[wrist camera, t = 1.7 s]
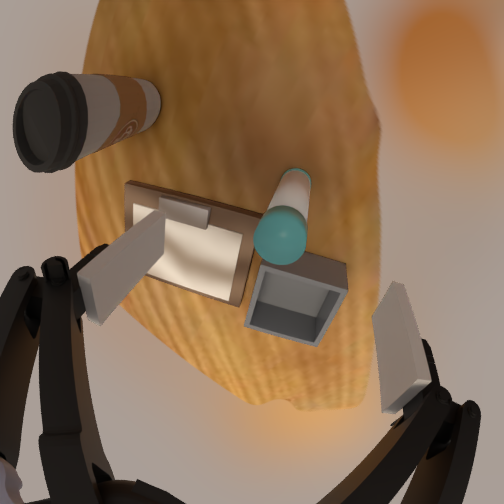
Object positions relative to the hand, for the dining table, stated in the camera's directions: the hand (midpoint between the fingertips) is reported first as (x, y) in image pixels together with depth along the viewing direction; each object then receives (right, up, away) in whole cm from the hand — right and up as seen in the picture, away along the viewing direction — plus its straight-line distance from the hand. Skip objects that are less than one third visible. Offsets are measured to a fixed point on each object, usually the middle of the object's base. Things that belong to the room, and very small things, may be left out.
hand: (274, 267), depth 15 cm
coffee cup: (-14, +17, +12) cm, 25 cm away
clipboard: (-9, +2, +20) cm, 22 cm away
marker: (+3, +8, +13) cm, 15 cm away
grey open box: (+4, -3, +19) cm, 20 cm away
